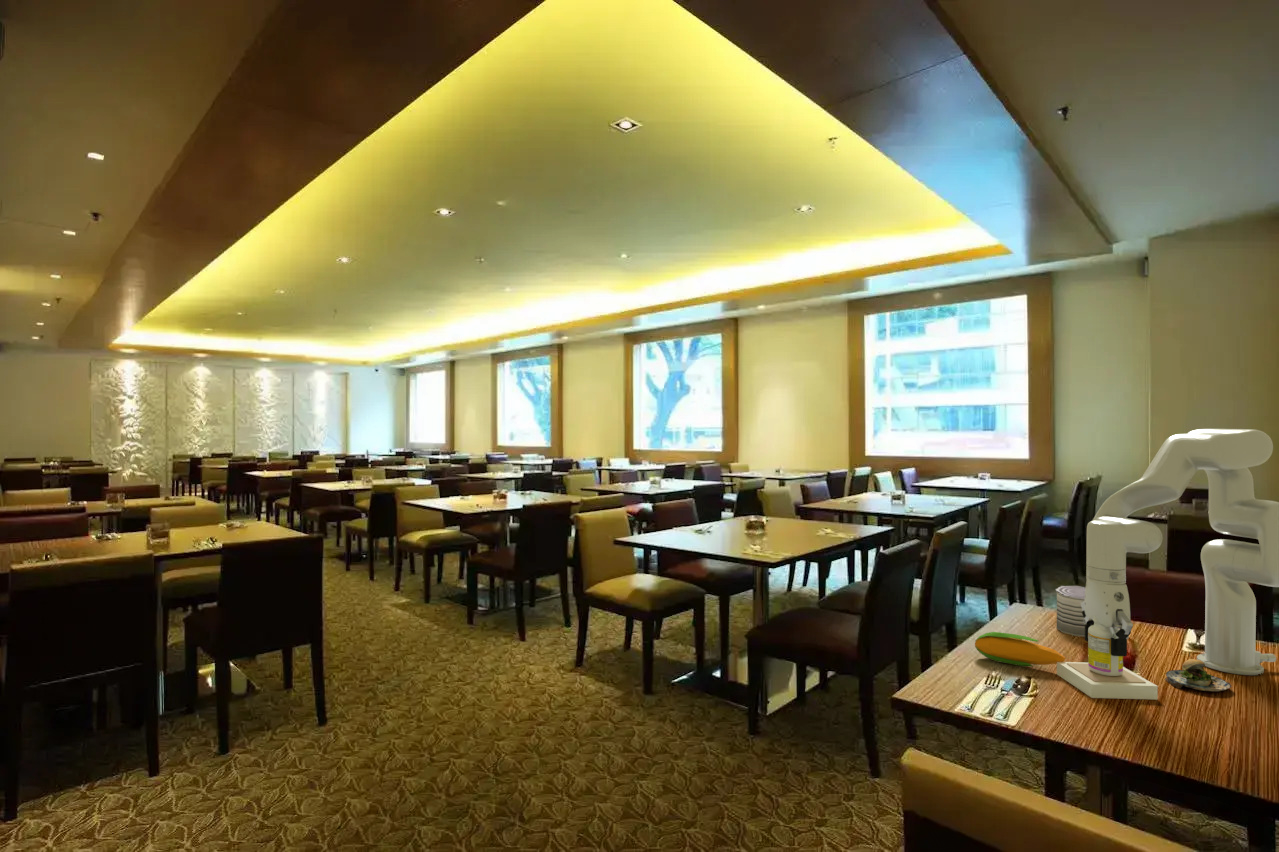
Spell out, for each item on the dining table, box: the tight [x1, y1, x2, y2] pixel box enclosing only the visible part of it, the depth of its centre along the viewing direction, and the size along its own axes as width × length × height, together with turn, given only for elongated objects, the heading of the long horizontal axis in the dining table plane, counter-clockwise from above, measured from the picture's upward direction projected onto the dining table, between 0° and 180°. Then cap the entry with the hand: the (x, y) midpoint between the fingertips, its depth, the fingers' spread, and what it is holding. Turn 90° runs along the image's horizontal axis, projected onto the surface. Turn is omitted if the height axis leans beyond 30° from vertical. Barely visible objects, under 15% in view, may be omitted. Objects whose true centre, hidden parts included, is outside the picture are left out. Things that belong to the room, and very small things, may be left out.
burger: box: [1164, 650, 1233, 692], centre depth 158 cm, size 12×12×8 cm
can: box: [1055, 585, 1086, 638], centre depth 198 cm, size 11×11×12 cm
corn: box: [974, 631, 1066, 668], centre depth 171 cm, size 7×8×20 cm
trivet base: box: [1056, 661, 1159, 700], centre depth 157 cm, size 14×14×3 cm
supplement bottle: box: [1087, 616, 1124, 676], centre depth 157 cm, size 7×7×13 cm
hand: (1105, 648), depth 157 cm, fingers open, 9 cm apart
